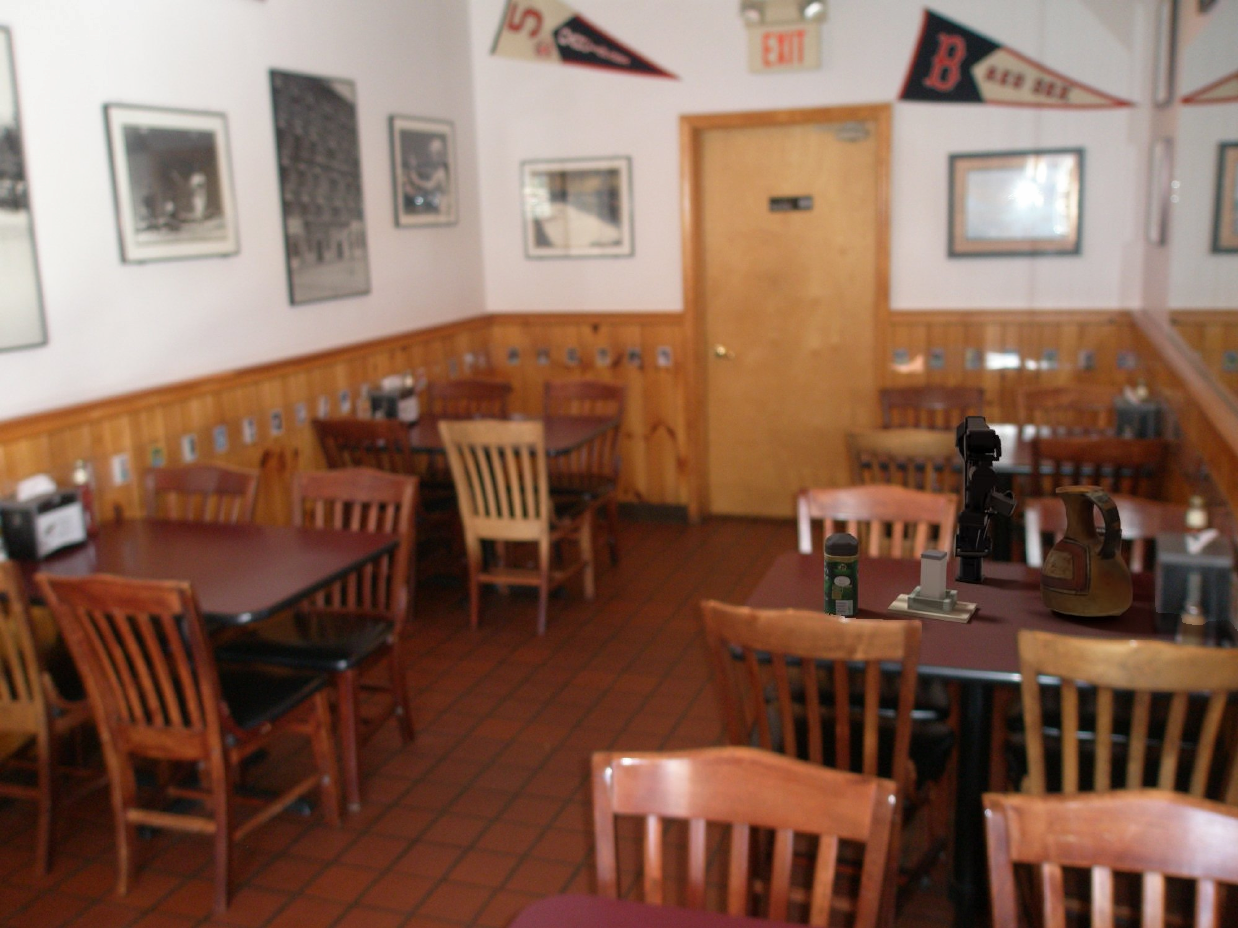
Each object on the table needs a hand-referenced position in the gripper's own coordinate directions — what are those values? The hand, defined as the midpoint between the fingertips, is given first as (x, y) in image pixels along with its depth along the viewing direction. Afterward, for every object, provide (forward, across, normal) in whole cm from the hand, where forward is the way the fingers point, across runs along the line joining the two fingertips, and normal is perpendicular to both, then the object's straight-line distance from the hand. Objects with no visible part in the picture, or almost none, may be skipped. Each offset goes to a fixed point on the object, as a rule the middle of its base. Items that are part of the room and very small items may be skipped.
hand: (977, 545), depth 274 cm
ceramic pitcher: (+13, -2, -25) cm, 28 cm away
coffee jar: (+13, -24, +26) cm, 38 cm away
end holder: (+13, -14, +7) cm, 20 cm away
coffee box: (+13, +15, -26) cm, 33 cm away
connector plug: (+12, -14, +7) cm, 20 cm away
